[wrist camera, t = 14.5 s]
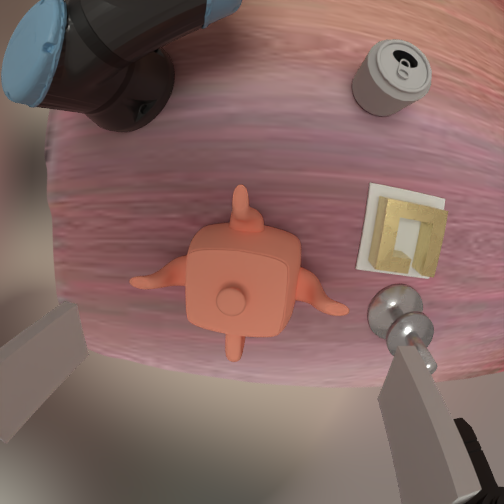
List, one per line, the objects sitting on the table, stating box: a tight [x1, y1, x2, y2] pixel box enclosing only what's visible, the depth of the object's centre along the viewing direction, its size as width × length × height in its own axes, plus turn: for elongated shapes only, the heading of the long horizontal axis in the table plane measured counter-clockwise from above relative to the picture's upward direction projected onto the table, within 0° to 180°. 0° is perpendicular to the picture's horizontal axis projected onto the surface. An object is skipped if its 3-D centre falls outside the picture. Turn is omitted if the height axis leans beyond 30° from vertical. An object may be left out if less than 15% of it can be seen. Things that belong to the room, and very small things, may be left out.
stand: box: [368, 284, 437, 374], centre depth 33 cm, size 9×9×15 cm
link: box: [368, 196, 448, 277], centre depth 35 cm, size 9×9×4 cm
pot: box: [129, 184, 349, 362], centre depth 36 cm, size 18×17×12 cm
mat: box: [355, 183, 445, 279], centre depth 37 cm, size 12×12×1 cm
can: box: [352, 39, 432, 116], centre depth 27 cm, size 8×8×12 cm
